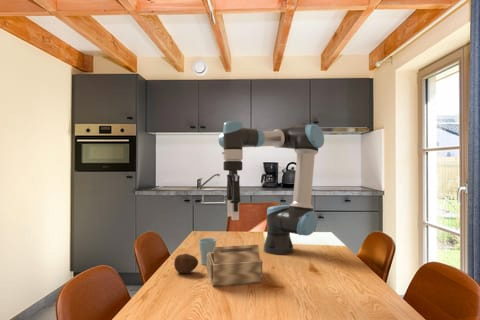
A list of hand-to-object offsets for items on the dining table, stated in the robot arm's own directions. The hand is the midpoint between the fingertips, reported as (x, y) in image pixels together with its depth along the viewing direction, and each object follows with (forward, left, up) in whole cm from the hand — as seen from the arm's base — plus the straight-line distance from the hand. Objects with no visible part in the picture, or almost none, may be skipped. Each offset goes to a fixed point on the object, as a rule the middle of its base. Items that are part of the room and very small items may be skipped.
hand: (233, 218), depth 123 cm
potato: (+18, -9, -24) cm, 31 cm away
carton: (0, 0, -23) cm, 23 cm away
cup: (+8, -20, -24) cm, 32 cm away
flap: (0, +9, -15) cm, 17 cm away
